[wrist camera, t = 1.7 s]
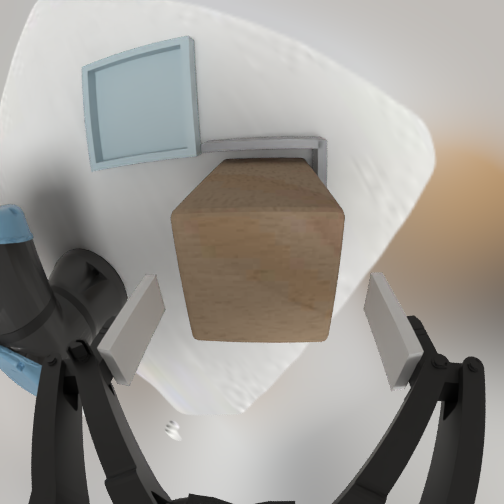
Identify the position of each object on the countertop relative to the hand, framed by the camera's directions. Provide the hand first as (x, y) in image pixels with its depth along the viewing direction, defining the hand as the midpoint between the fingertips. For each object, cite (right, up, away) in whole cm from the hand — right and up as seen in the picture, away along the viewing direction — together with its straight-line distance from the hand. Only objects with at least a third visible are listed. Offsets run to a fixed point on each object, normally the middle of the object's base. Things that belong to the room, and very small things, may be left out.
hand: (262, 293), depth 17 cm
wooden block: (+1, +9, +18) cm, 21 cm away
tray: (-15, +21, +13) cm, 29 cm away
